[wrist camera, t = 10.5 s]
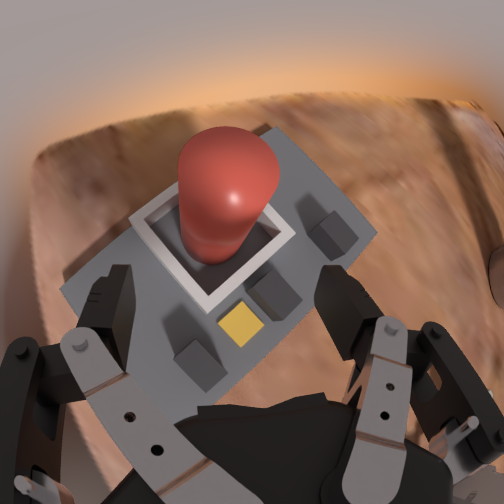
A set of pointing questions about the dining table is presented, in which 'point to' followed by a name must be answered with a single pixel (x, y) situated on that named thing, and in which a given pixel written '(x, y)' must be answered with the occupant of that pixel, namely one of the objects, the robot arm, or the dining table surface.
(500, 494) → the circuit breaker
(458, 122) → the dining table surface
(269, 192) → the cap
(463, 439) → the robot arm
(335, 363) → the dining table surface
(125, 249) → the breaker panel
